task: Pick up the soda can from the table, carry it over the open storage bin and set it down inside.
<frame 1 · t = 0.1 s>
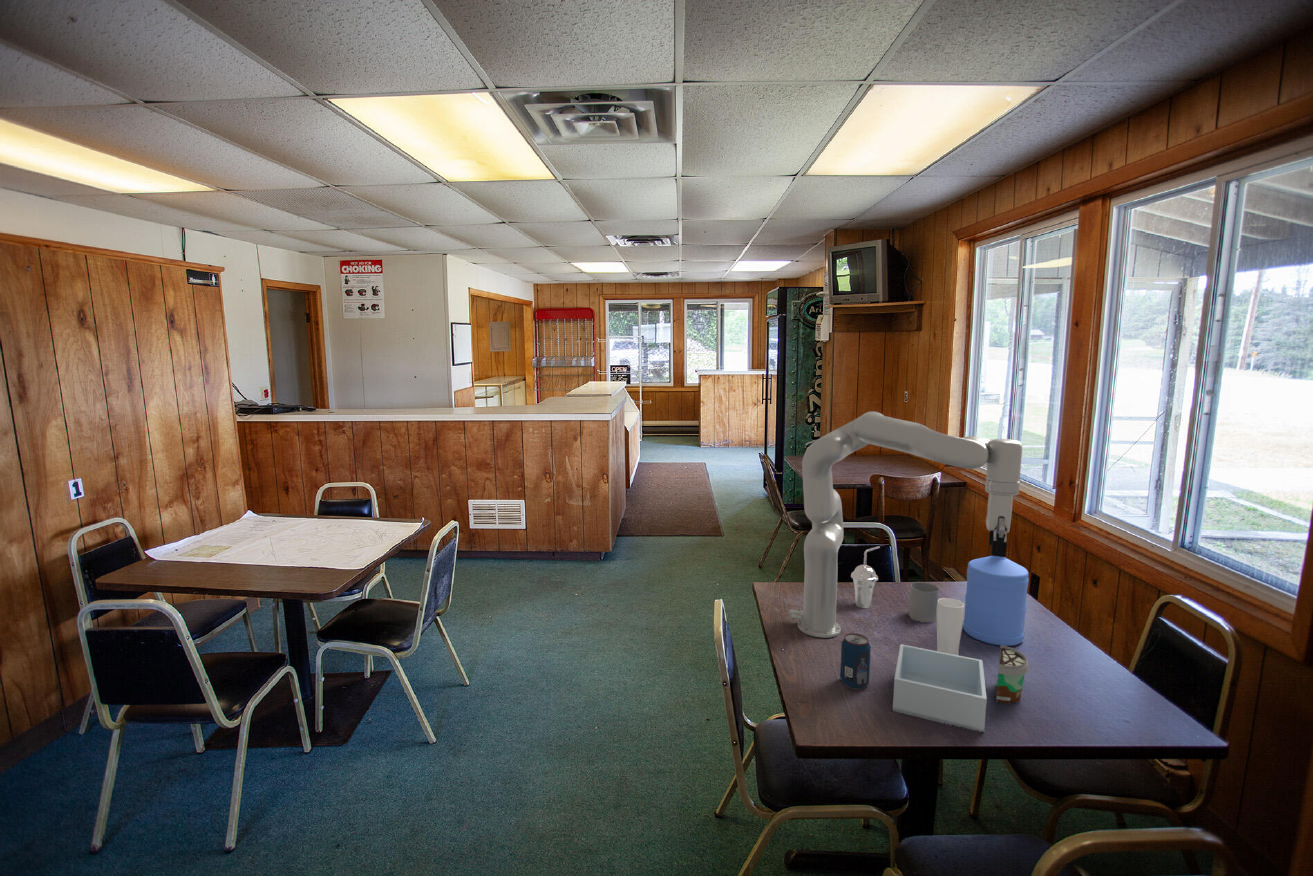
hand: (997, 550, 154), 31 cm above the table, tool pointing down, fingers open, 9 cm apart
soda can: (854, 684, 148), on the table
water jug: (992, 635, 175), on the table
cup: (923, 617, 186), on the table
drinking glass: (947, 654, 163), on the table
food container: (1011, 697, 143), on the table
open storage bin: (937, 700, 141), on the table
cup with straw: (863, 606, 195), on the table
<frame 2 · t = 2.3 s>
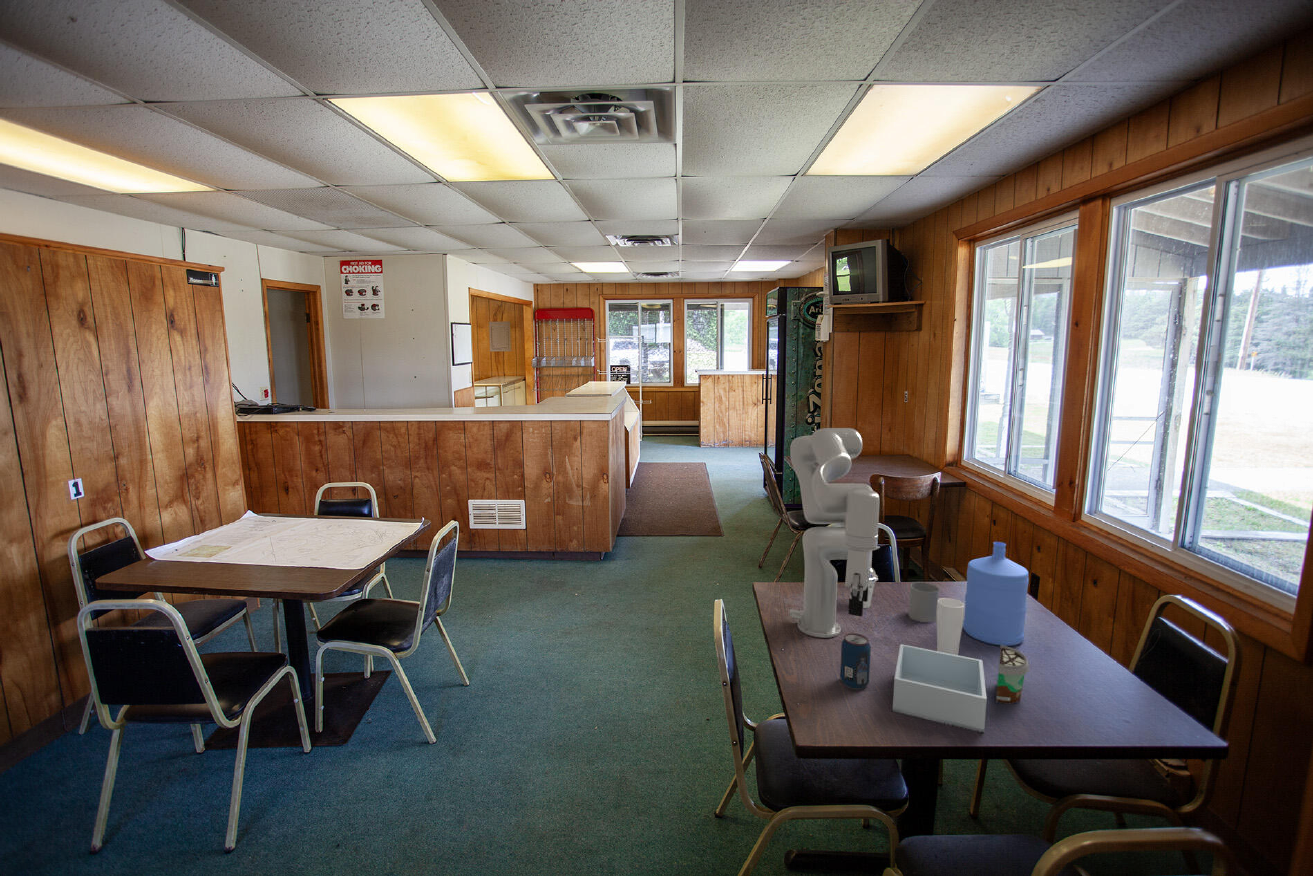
hand: (858, 607, 145), 20 cm above the table, tool pointing down, fingers open, 9 cm apart
nothing on the table moved.
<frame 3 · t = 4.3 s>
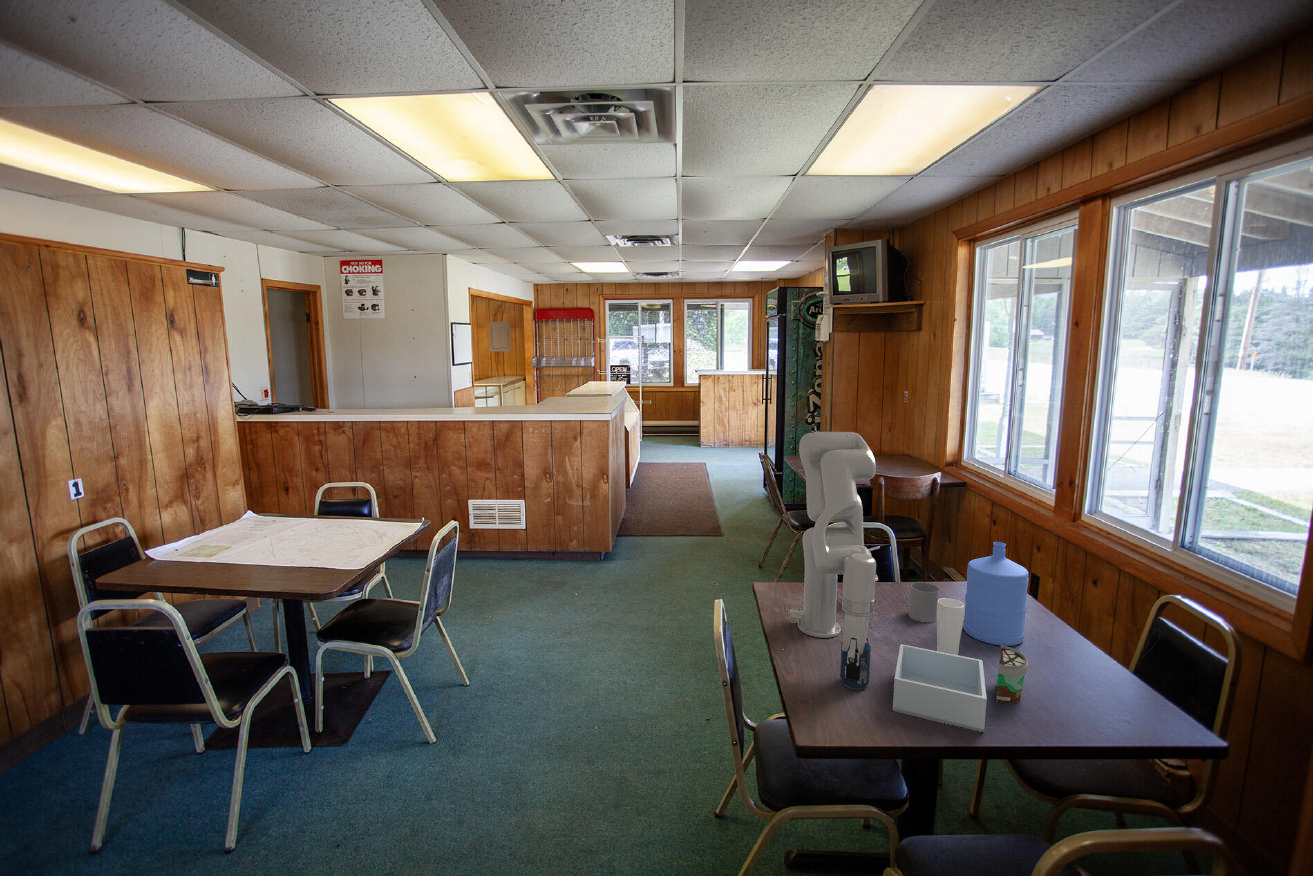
hand: (854, 671, 148), 3 cm above the table, tool pointing down, fingers closed on soda can, 7 cm apart
soda can: (854, 684, 148), on the table, touching gripper
everything else where it was.
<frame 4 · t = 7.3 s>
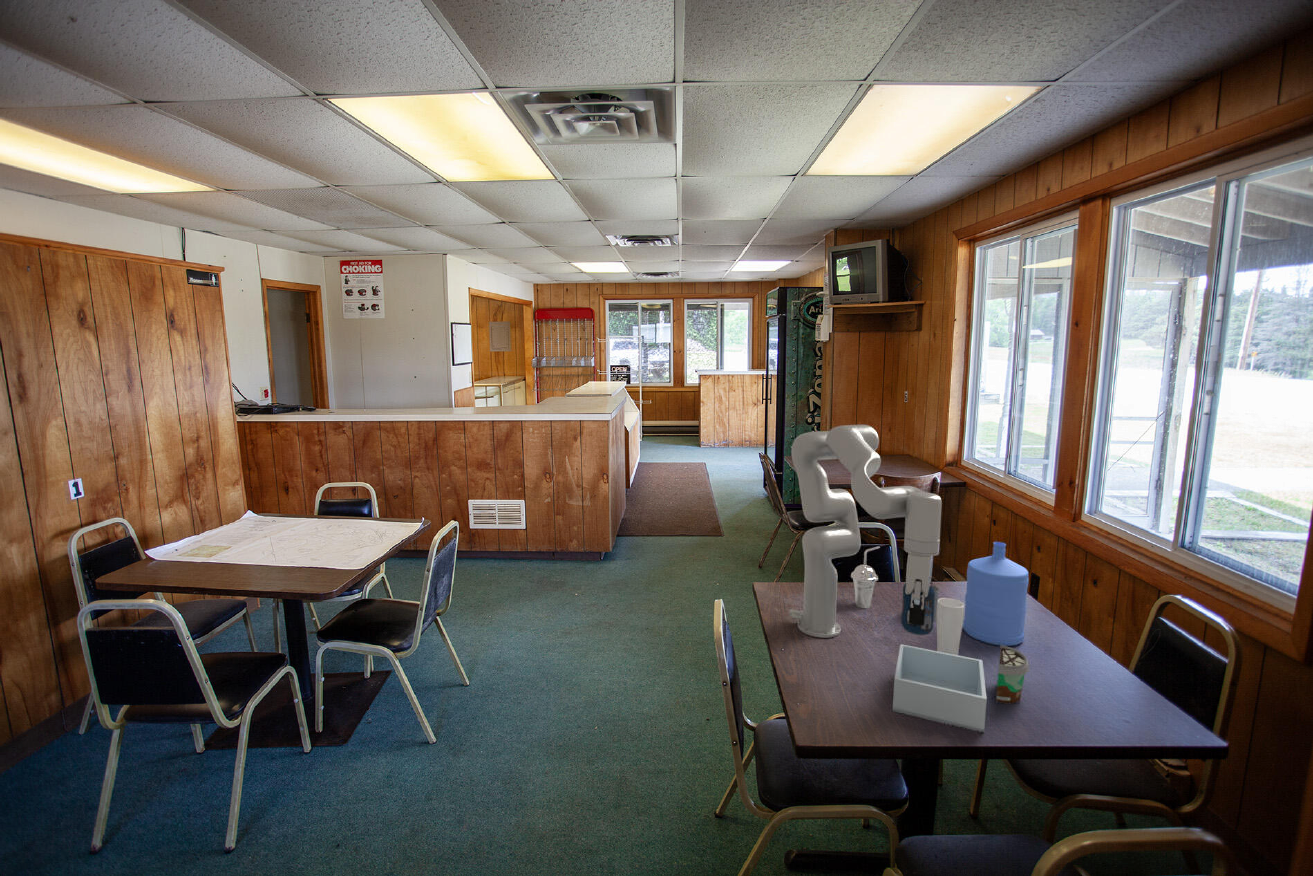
hand: (917, 617, 140), 20 cm above the table, tool pointing down, fingers closed on soda can, 7 cm apart
soda can: (916, 631, 140), point 17 cm above the table, touching gripper
everything else where it was.
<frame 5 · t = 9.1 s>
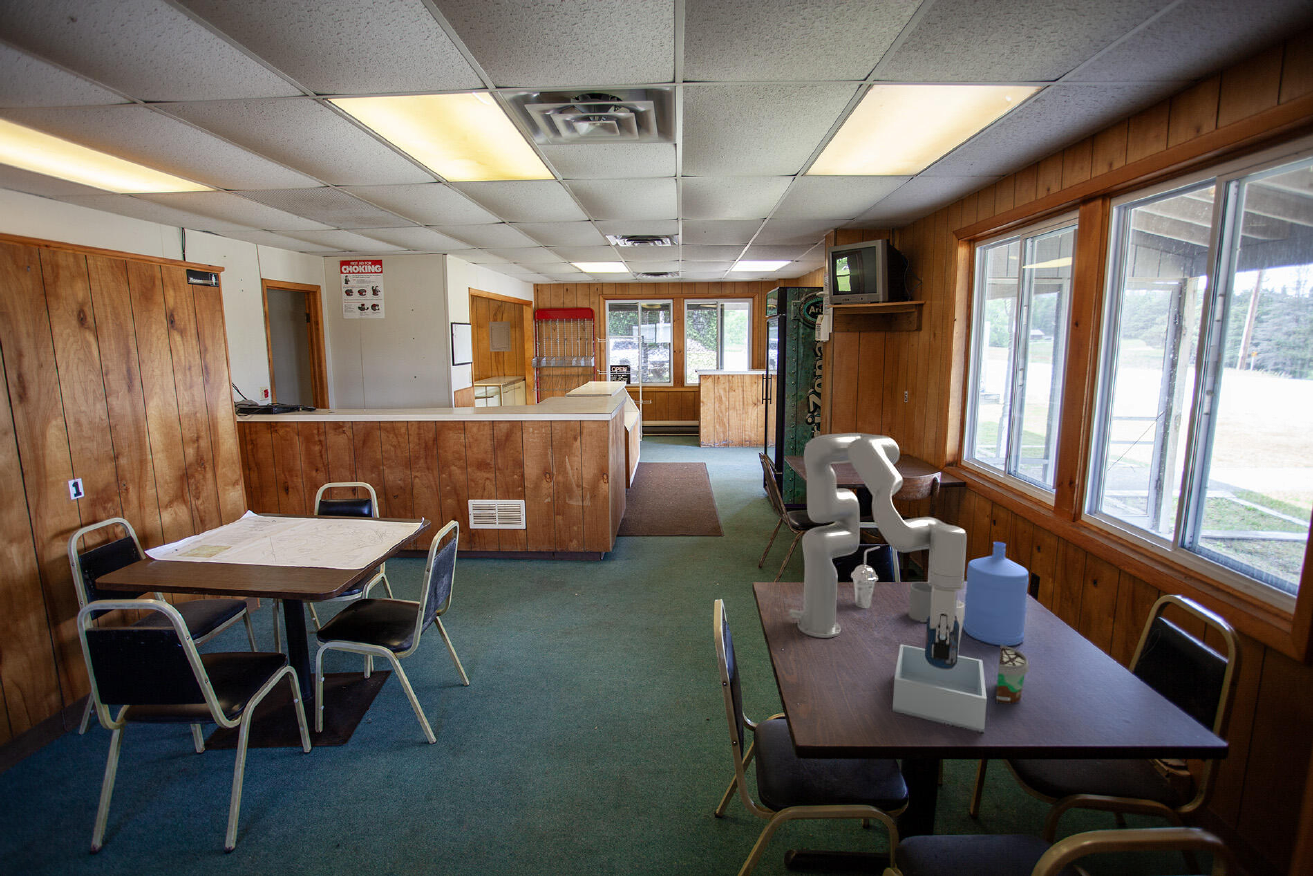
hand: (941, 650, 139), 13 cm above the table, tool pointing down, fingers closed on soda can, 7 cm apart
soda can: (940, 664, 139), point 9 cm above the table, touching gripper
everything else where it was.
when the fingers open (7 cm above the table, at t = 10.7 s): soda can drops 2 cm, point 1 cm above the table.
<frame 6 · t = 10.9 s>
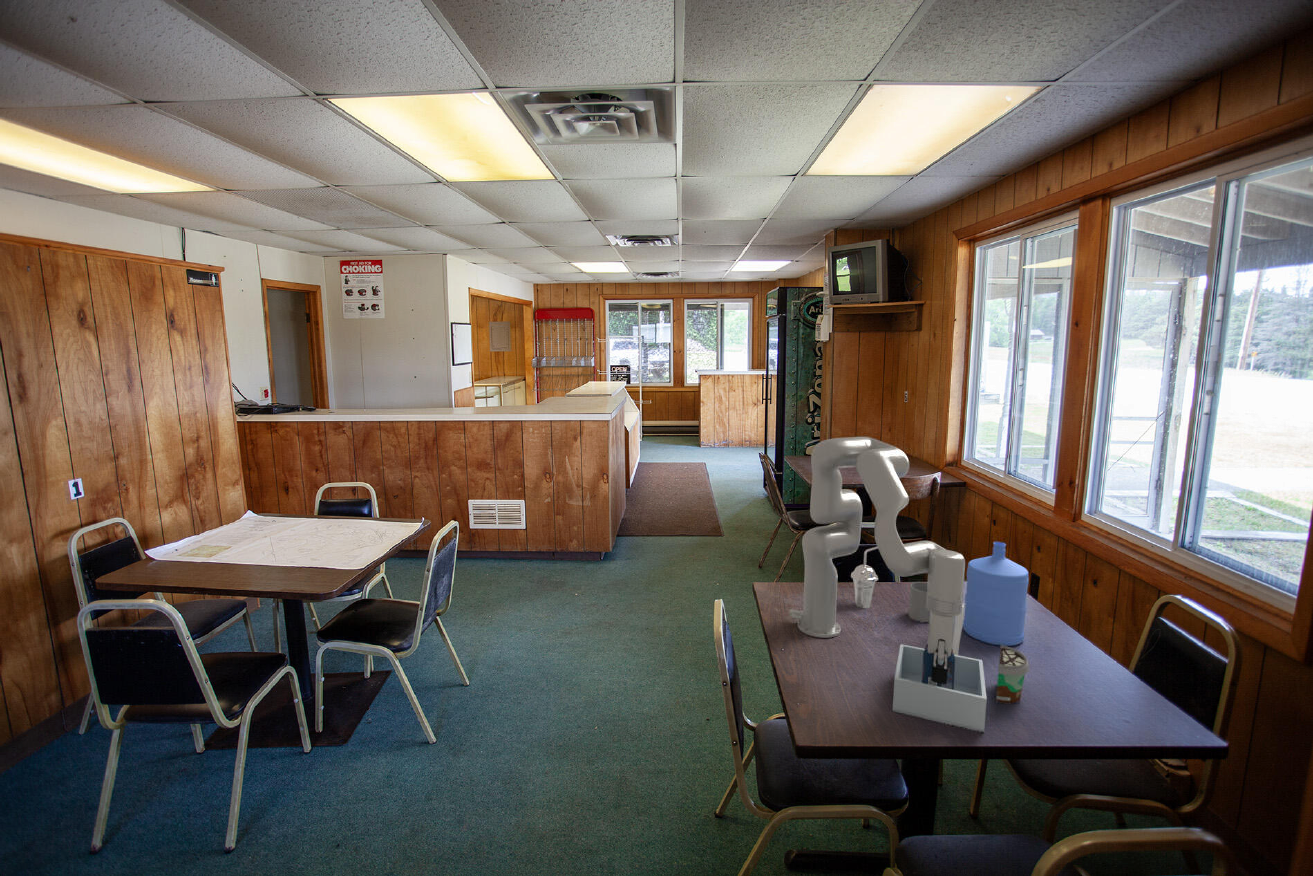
hand: (939, 673, 140), 7 cm above the table, tool pointing down, fingers open, 8 cm apart
soda can: (936, 696, 141), point 1 cm above the table, touching gripper
everything else where it was.
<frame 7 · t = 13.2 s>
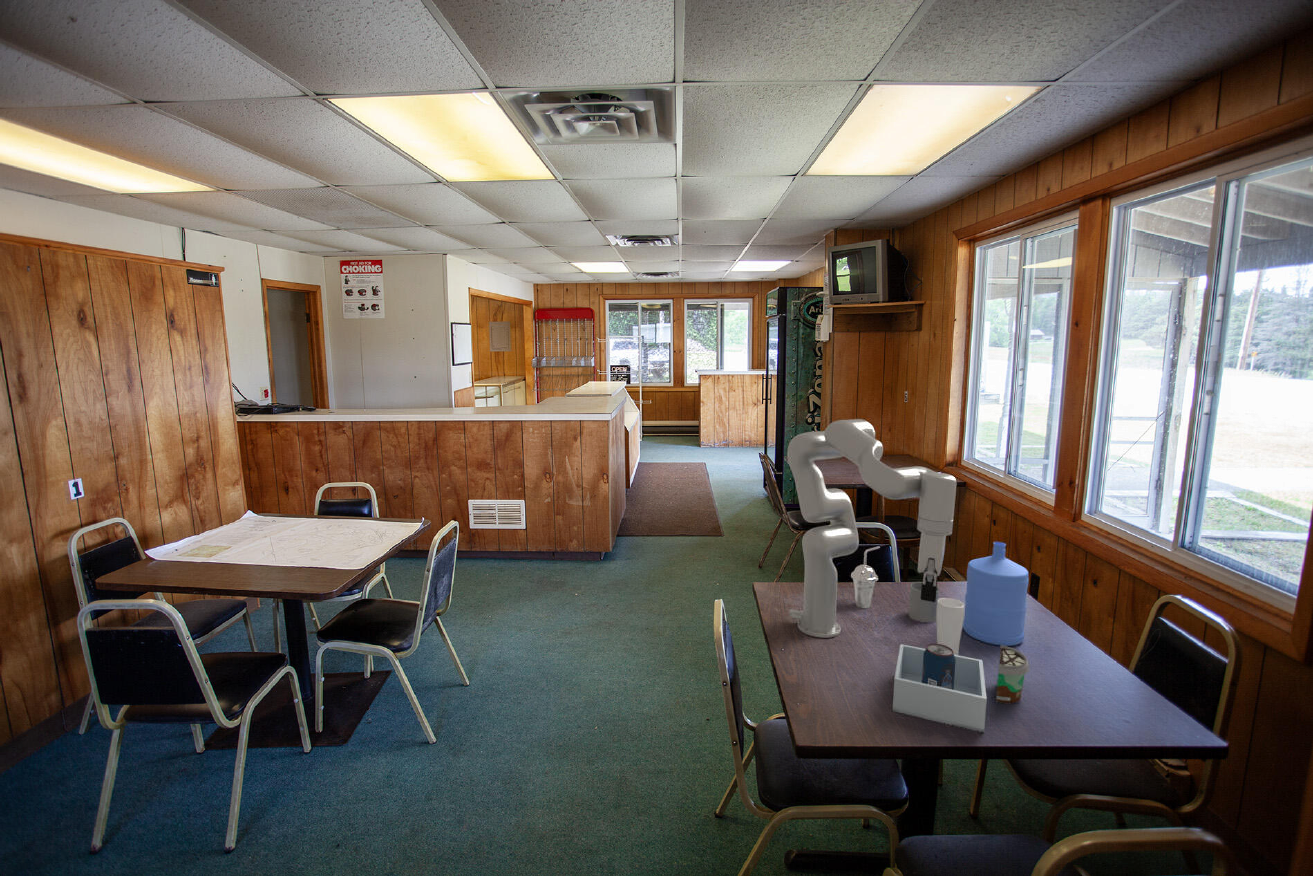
hand: (928, 593, 142), 25 cm above the table, tool pointing down, fingers open, 9 cm apart
soda can: (936, 697, 141), point 1 cm above the table, touching open storage bin
everything else where it was.
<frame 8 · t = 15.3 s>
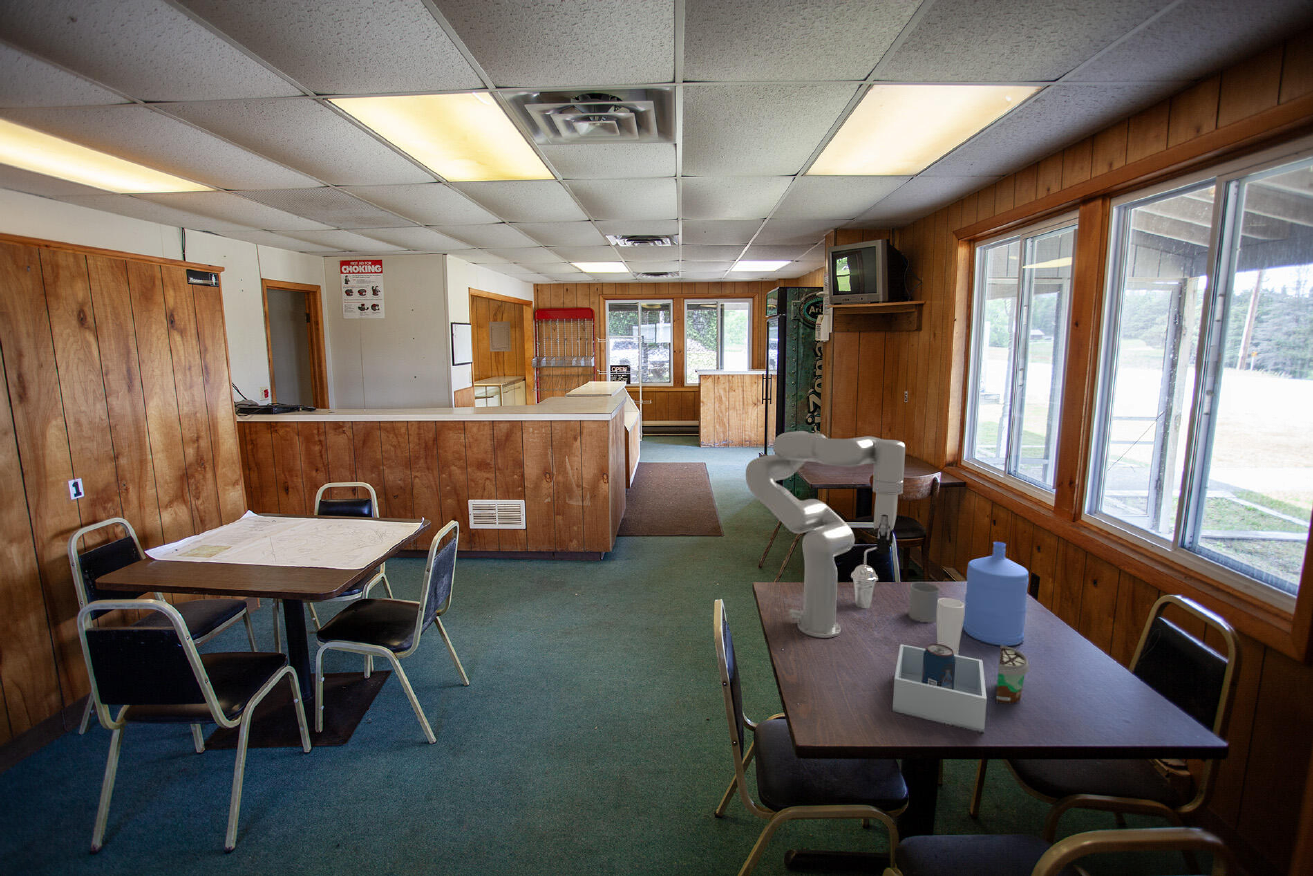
hand: (884, 548, 159), 30 cm above the table, tool pointing down, fingers open, 9 cm apart
nothing on the table moved.
at the end: soda can inside the target area on the open storage bin (0.4 cm from its centre), point 0.6 cm above the open storage bin's base; the gripper is holding nothing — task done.
